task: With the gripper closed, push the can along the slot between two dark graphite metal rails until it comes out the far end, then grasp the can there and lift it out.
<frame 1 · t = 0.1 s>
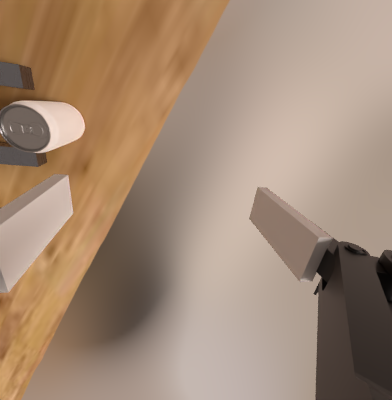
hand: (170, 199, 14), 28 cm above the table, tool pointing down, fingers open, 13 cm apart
can: (66, 122, 36), on the table
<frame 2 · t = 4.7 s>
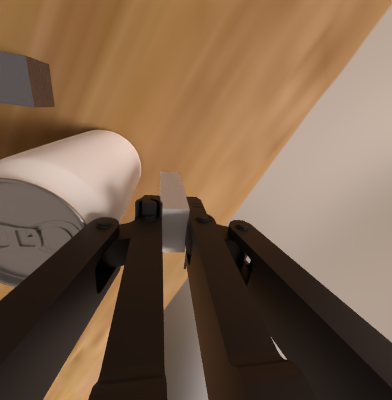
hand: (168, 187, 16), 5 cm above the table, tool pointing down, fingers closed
can: (108, 163, 19), on the table, touching hand
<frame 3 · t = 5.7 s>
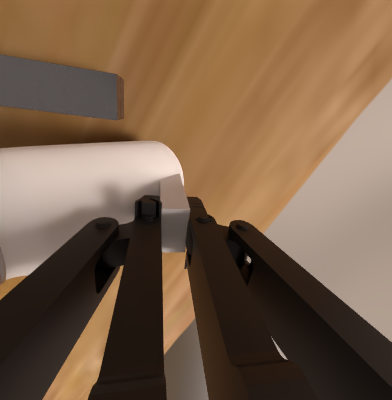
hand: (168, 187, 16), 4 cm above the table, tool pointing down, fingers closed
can: (159, 176, 19), point 2 cm above the table, touching gripper
slot guide: (55, 162, 18), on the table
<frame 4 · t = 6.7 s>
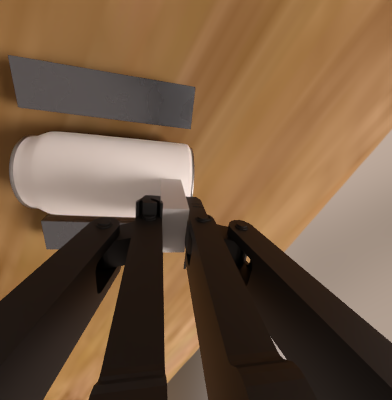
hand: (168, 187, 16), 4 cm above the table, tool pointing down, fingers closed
can: (190, 182, 18), point 3 cm above the table, touching gripper
slot guide: (119, 166, 20), on the table
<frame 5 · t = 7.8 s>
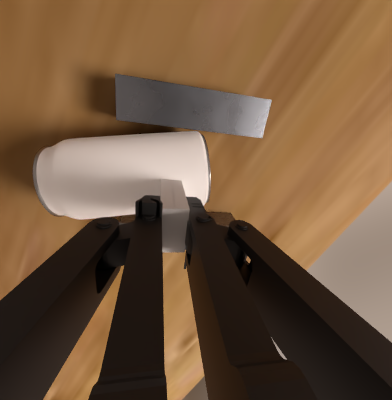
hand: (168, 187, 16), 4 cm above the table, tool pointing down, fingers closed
can: (205, 169, 18), point 3 cm above the table, touching gripper
slot guide: (184, 172, 21), on the table
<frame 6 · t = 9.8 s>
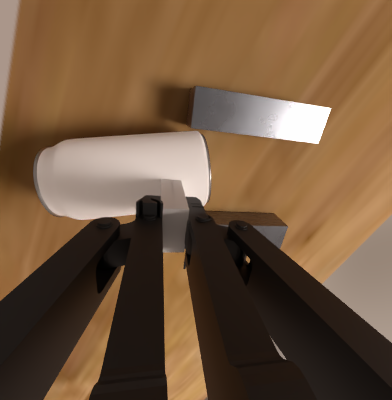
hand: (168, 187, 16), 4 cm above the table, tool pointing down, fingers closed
can: (206, 169, 18), point 3 cm above the table, touching gripper
slot guide: (236, 175, 22), on the table
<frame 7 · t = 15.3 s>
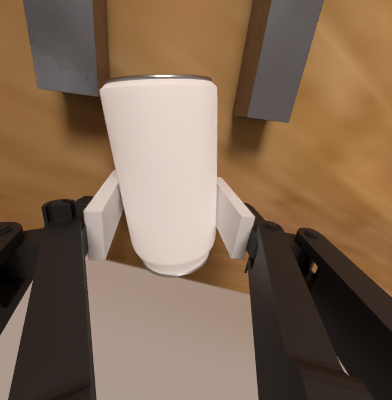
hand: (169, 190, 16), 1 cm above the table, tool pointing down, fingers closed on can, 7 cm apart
can: (159, 77, 11), point 3 cm above the table, touching gripper
slot guide: (182, 1, 13), on the table
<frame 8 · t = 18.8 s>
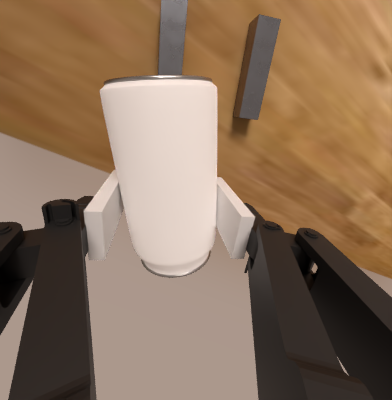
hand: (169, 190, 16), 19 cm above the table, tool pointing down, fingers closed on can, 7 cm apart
can: (159, 77, 11), point 21 cm above the table, touching gripper
slot guide: (211, 68, 29), on the table
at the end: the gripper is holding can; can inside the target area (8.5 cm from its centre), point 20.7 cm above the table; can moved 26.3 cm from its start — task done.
